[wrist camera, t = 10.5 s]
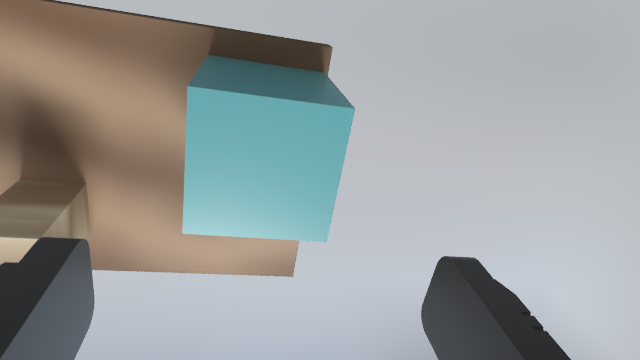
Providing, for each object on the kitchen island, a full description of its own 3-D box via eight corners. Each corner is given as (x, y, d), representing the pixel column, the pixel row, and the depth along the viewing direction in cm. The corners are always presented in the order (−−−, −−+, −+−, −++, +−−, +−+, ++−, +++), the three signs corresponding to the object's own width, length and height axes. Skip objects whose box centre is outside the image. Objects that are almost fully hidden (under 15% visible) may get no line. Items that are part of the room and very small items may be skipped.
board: (-37, -15, 17) (-174, -16, 11) (329, 44, 20) (356, 65, 15) (13, 255, 22) (-61, 339, 17) (291, 266, 26) (301, 339, 20)
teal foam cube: (208, 54, 18) (187, 86, 13) (324, 72, 20) (354, 108, 14) (202, 164, 21) (182, 233, 15) (306, 174, 22) (326, 242, 16)
